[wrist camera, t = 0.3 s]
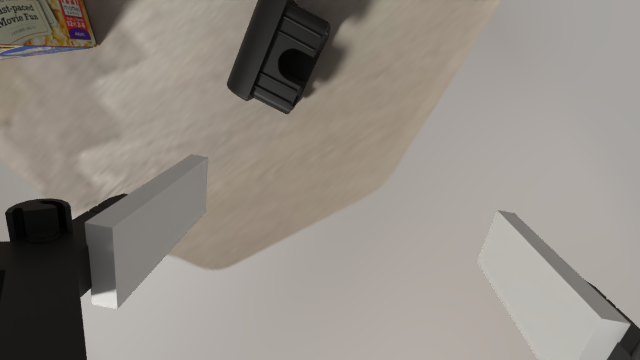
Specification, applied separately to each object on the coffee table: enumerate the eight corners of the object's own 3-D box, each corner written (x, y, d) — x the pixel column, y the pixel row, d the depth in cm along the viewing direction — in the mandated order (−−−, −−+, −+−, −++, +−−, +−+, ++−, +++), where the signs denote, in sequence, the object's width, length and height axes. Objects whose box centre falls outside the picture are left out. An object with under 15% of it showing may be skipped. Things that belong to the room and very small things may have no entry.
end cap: (272, -8, 35) (256, -22, 29) (333, 25, 36) (330, 18, 30) (238, 81, 39) (216, 86, 32) (294, 110, 39) (283, 120, 33)
